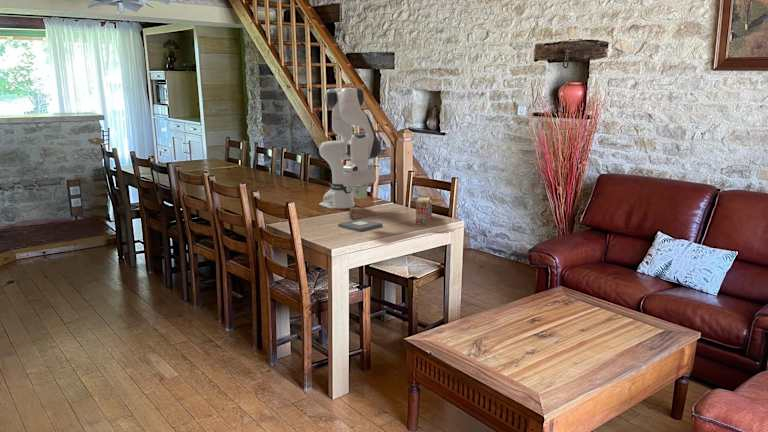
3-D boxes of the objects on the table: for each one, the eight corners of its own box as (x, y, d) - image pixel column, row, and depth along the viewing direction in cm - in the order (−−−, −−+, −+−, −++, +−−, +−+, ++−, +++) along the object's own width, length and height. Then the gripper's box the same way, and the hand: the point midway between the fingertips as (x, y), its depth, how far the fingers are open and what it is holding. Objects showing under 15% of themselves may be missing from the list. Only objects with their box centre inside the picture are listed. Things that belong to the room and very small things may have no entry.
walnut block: (349, 219, 330) (349, 208, 329) (356, 217, 334) (356, 206, 333) (356, 220, 327) (355, 209, 326) (363, 219, 330) (362, 208, 329)
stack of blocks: (420, 216, 338) (420, 194, 335) (431, 216, 337) (432, 194, 334) (415, 224, 317) (415, 201, 314) (427, 225, 316) (428, 201, 313)
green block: (353, 197, 310) (352, 185, 309) (360, 196, 314) (360, 184, 313) (359, 198, 307) (359, 187, 306) (367, 197, 310) (366, 185, 309)
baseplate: (338, 226, 314) (338, 223, 313) (361, 221, 325) (361, 218, 324) (359, 231, 303) (359, 228, 302) (382, 226, 314) (382, 222, 313)
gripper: (370, 163, 316) (370, 190, 319) (340, 167, 302) (340, 195, 305) (378, 164, 312) (379, 191, 315) (348, 168, 298) (349, 196, 301)
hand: (359, 193), depth 310 cm, fingers closed on green block, 5 cm apart
